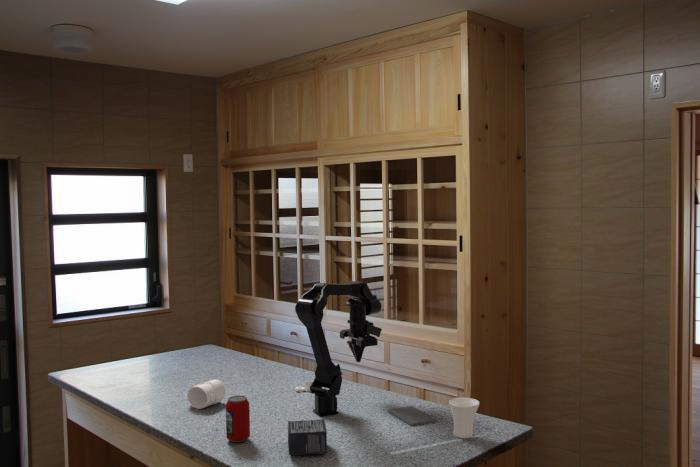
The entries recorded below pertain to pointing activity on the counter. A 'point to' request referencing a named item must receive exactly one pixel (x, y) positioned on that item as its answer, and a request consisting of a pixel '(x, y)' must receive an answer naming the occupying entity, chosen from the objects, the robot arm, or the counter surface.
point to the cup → (463, 416)
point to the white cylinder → (206, 394)
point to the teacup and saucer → (308, 384)
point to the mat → (411, 415)
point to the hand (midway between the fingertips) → (358, 362)
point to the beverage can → (237, 419)
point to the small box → (307, 437)
